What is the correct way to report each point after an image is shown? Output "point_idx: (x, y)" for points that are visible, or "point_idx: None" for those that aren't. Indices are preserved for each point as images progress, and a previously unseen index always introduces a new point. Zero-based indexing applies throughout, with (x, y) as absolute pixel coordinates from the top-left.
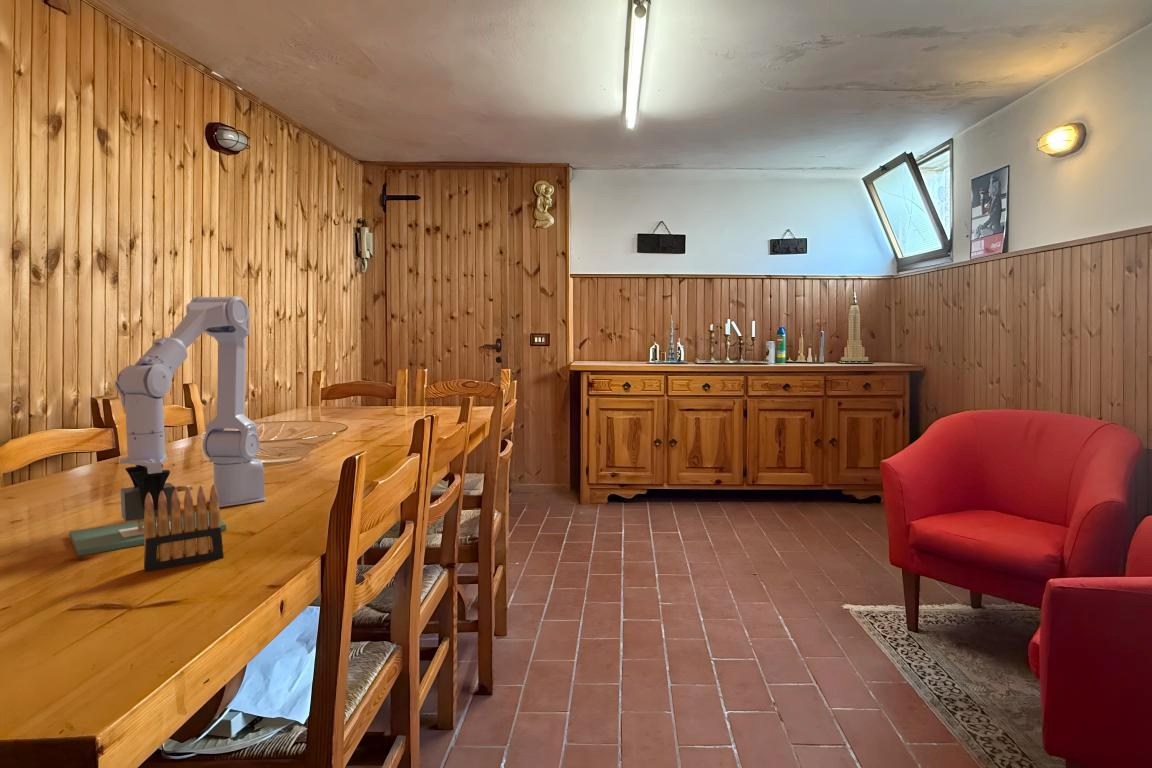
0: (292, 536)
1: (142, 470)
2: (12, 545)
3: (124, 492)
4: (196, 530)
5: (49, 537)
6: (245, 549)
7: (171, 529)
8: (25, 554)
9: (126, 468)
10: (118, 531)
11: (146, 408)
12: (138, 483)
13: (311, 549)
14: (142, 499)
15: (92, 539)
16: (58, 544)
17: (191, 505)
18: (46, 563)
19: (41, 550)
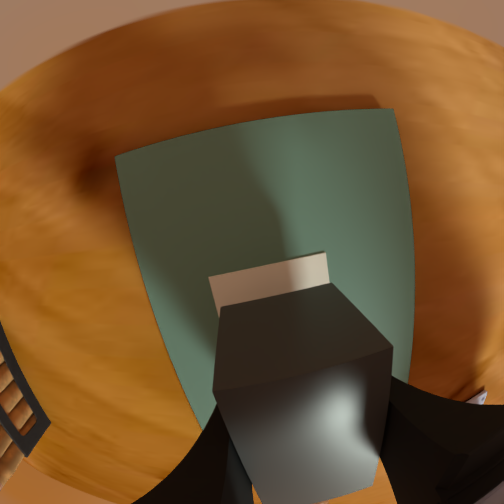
0: (134, 497)
1: (425, 492)
2: (354, 3)
3: (229, 390)
4: (6, 427)
5: (401, 71)
6: (75, 450)
7: None
8: (234, 22)
9: (500, 434)
10: (310, 253)
11: None
12: (153, 489)
13: (68, 483)
14: (207, 422)
15: (236, 178)
16: (309, 83)
17: None
18: (98, 93)
19: (258, 49)
